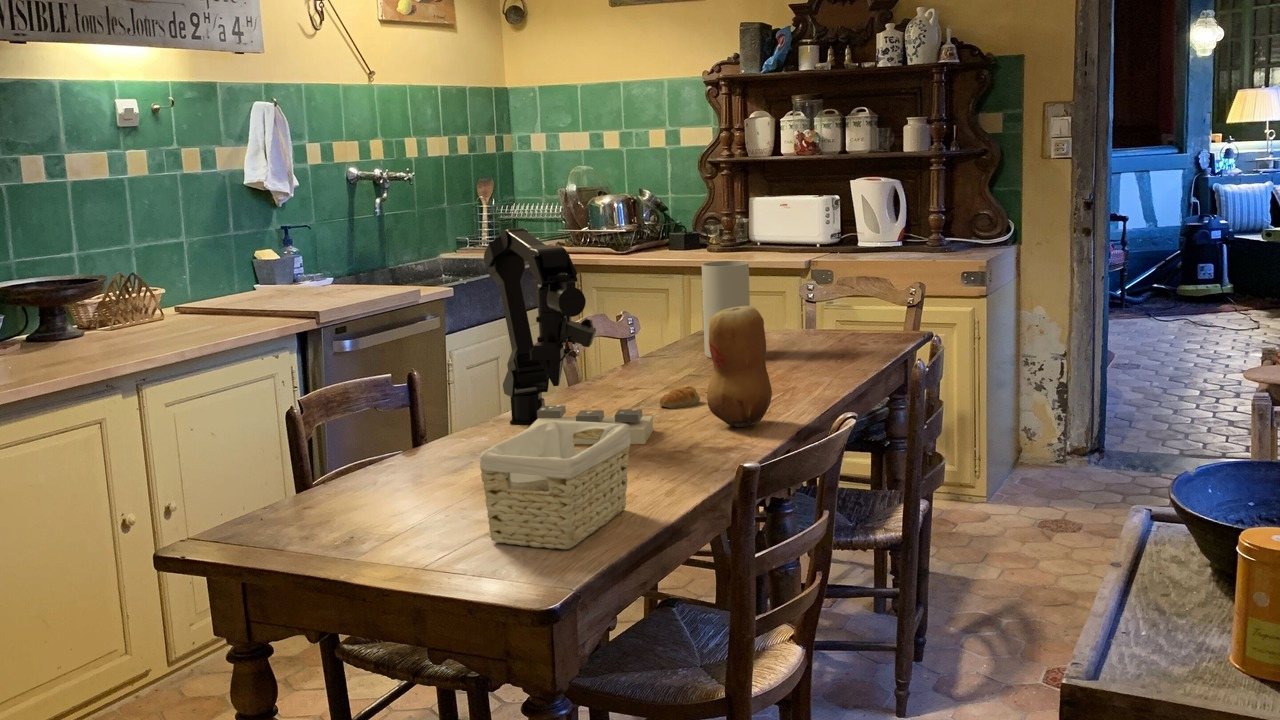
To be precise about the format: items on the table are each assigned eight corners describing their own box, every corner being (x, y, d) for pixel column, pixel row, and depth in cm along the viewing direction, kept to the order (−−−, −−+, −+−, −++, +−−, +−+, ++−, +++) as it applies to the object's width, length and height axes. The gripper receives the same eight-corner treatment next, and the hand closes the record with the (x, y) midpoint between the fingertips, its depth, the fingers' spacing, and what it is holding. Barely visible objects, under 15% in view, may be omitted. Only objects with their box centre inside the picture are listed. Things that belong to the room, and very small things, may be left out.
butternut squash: (697, 423, 256) (693, 306, 252) (753, 415, 261) (750, 299, 257) (728, 437, 244) (724, 314, 239) (786, 428, 249) (783, 307, 244)
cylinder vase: (753, 359, 323) (750, 265, 318) (705, 361, 323) (702, 267, 318) (749, 350, 335) (746, 259, 330) (703, 352, 335) (700, 261, 330)
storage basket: (551, 500, 208) (546, 416, 205) (638, 508, 202) (634, 421, 199) (480, 546, 187) (473, 453, 184) (575, 556, 180) (570, 460, 178)
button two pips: (614, 422, 245) (614, 413, 245) (619, 416, 250) (618, 408, 249) (638, 422, 244) (638, 413, 244) (642, 416, 249) (642, 408, 249)
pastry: (673, 411, 269) (672, 394, 268) (652, 407, 274) (651, 391, 273) (702, 403, 275) (701, 387, 275) (681, 399, 280) (680, 383, 279)
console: (527, 444, 246) (526, 429, 245) (540, 430, 256) (539, 416, 256) (644, 444, 242) (644, 429, 241) (653, 430, 252) (652, 416, 252)
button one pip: (576, 423, 246) (575, 415, 246) (581, 417, 251) (580, 409, 251) (599, 423, 246) (599, 415, 245) (604, 417, 250) (603, 409, 250)
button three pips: (537, 418, 248) (536, 410, 247) (543, 412, 252) (542, 404, 252) (560, 418, 247) (560, 410, 246) (565, 412, 251) (565, 404, 251)
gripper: (583, 317, 235) (587, 396, 238) (599, 302, 253) (602, 375, 256) (526, 318, 236) (531, 396, 240) (547, 303, 255) (550, 375, 258)
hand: (556, 385), depth 248 cm, fingers closed
